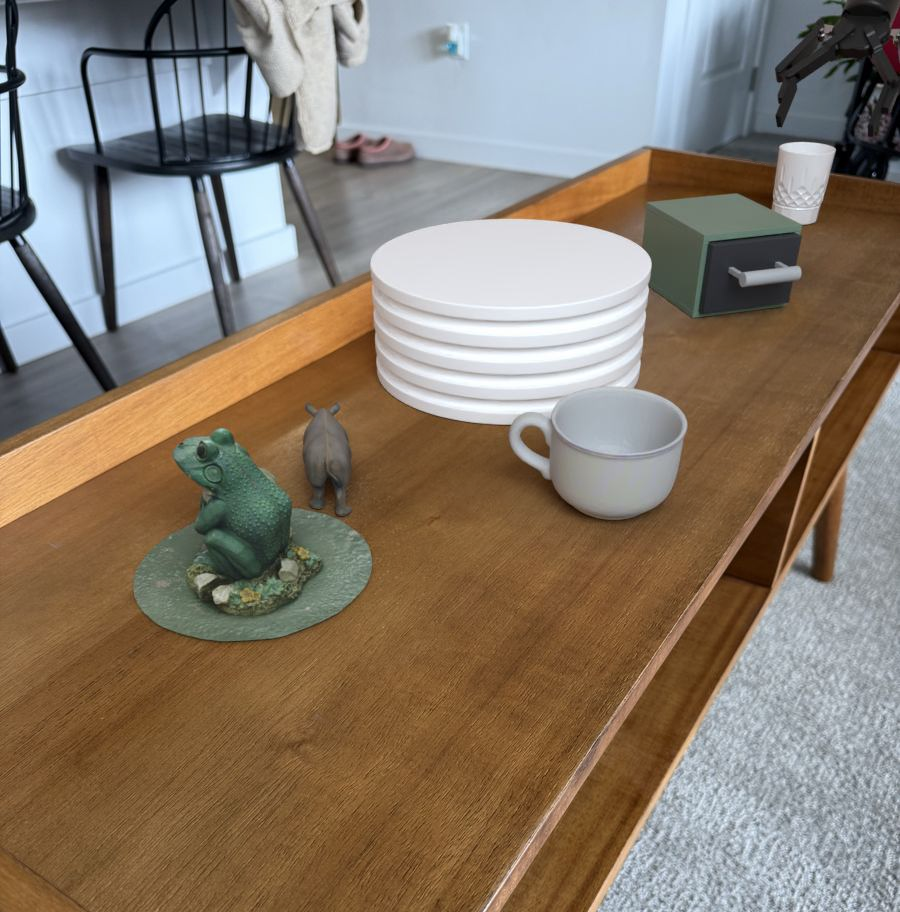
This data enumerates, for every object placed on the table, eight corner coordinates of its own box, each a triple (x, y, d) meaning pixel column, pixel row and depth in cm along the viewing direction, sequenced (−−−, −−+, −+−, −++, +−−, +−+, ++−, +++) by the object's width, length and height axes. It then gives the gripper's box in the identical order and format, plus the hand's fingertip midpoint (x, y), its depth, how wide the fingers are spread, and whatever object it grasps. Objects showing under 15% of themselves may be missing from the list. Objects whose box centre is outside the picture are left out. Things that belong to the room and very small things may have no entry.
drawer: (809, 315, 112) (824, 246, 107) (721, 326, 109) (733, 257, 104) (731, 268, 125) (741, 205, 121) (651, 277, 123) (658, 214, 118)
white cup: (827, 226, 143) (843, 153, 137) (774, 226, 143) (787, 154, 137) (812, 211, 149) (826, 141, 143) (761, 212, 149) (773, 142, 143)
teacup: (683, 480, 83) (696, 395, 79) (663, 547, 75) (677, 455, 70) (528, 457, 87) (531, 374, 82) (493, 518, 79) (494, 429, 74)
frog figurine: (221, 491, 83) (198, 364, 76) (410, 534, 77) (404, 401, 70) (82, 607, 70) (39, 467, 63) (297, 670, 64) (275, 522, 57)
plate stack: (434, 307, 118) (432, 209, 111) (662, 335, 110) (675, 231, 103) (331, 400, 97) (321, 287, 90) (604, 444, 89) (615, 323, 82)
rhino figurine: (347, 440, 90) (342, 380, 87) (359, 516, 79) (353, 451, 76) (303, 443, 90) (296, 383, 86) (308, 521, 79) (301, 456, 75)
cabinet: (786, 306, 117) (802, 224, 111) (692, 318, 114) (704, 235, 108) (725, 269, 128) (737, 193, 122) (638, 279, 125) (646, 202, 119)
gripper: (790, -24, 147) (739, 101, 146) (966, -18, 135) (912, 117, 134) (794, 13, 153) (745, 133, 152) (962, 21, 142) (910, 151, 141)
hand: (823, 126), depth 143 cm, fingers open, 13 cm apart
